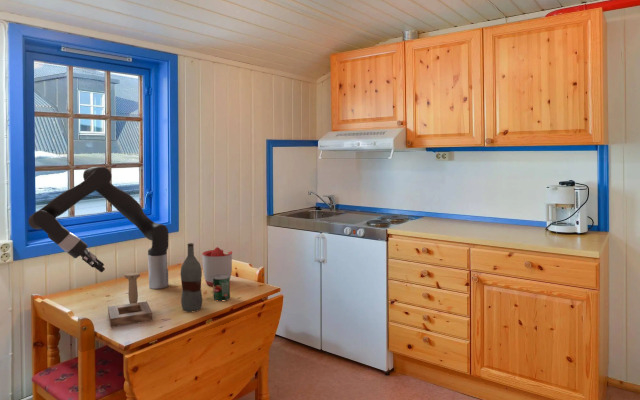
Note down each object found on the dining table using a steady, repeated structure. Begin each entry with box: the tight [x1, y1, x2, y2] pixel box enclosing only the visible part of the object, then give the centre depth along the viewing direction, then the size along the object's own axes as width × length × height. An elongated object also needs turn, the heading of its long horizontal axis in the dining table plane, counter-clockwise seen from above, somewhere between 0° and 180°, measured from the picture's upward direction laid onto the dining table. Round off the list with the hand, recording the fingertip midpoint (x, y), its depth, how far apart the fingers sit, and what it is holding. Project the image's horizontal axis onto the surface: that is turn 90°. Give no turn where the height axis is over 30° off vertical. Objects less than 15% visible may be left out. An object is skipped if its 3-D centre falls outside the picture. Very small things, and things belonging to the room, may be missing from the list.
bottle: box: [180, 242, 203, 313], centre depth 208 cm, size 9×9×30 cm
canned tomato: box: [212, 274, 231, 302], centre depth 223 cm, size 8×8×11 cm
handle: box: [124, 272, 141, 304], centre depth 212 cm, size 5×6×15 cm
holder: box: [107, 301, 153, 328], centre depth 198 cm, size 16×16×4 cm
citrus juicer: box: [201, 246, 233, 287], centre depth 248 cm, size 16×17×20 cm
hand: (103, 268), depth 205 cm, fingers open, 8 cm apart
